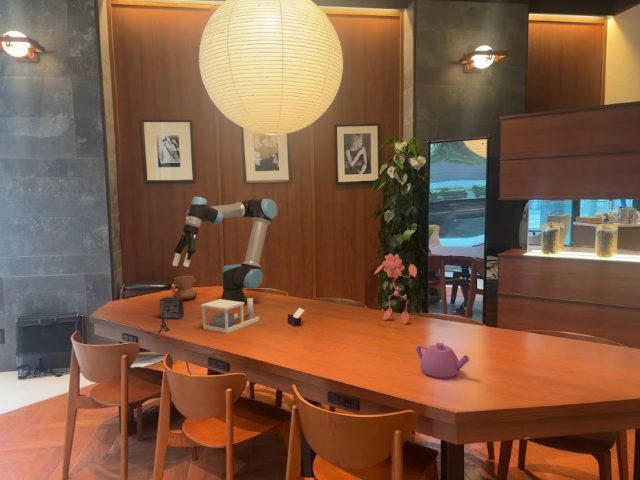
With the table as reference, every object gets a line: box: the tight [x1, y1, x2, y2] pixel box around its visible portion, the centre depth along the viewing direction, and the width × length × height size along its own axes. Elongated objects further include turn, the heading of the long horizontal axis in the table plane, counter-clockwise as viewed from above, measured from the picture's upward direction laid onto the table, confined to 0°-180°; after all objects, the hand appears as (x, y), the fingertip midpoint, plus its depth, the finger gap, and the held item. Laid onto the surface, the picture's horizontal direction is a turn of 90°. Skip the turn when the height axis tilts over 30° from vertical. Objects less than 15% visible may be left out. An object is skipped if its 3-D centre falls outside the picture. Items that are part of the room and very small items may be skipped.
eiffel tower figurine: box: [144, 308, 171, 336], centre depth 221 cm, size 15×10×13 cm
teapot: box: [415, 342, 471, 379], centre depth 165 cm, size 14×20×11 cm
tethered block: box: [211, 297, 255, 328], centre depth 231 cm, size 26×7×10 cm, turn 149°
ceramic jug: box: [171, 275, 198, 302], centre depth 291 cm, size 18×14×14 cm
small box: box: [159, 297, 184, 320], centre depth 248 cm, size 11×6×10 cm, turn 84°
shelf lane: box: [200, 298, 260, 334], centre depth 228 cm, size 24×16×13 cm, turn 149°
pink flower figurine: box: [373, 253, 418, 330], centre depth 227 cm, size 15×26×35 cm, turn 45°
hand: (180, 266), depth 233 cm, fingers open, 13 cm apart
